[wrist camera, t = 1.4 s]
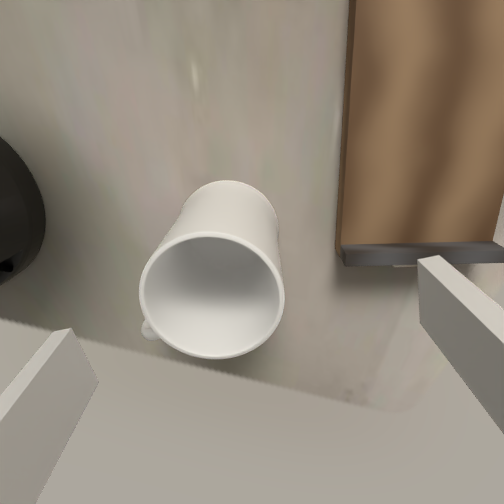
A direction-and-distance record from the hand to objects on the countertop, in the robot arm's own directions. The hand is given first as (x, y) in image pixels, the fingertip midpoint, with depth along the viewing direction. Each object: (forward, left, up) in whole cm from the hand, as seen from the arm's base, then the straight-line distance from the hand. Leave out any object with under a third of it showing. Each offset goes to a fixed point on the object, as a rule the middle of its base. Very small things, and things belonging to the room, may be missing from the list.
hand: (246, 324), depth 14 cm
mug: (-4, -3, -18) cm, 18 cm away
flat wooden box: (+13, +6, -18) cm, 23 cm away
